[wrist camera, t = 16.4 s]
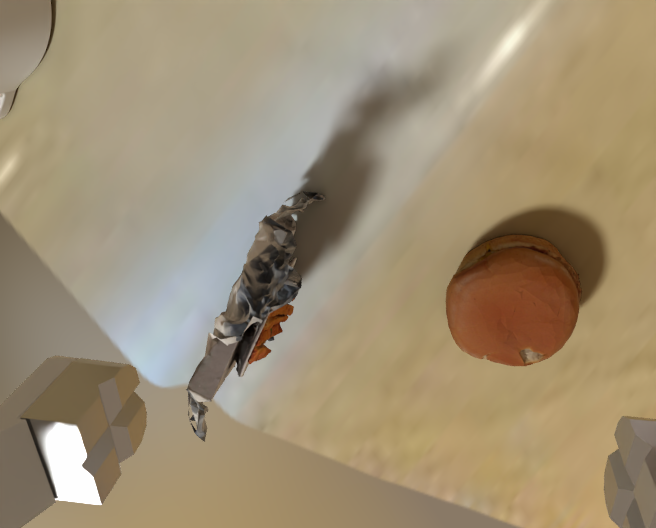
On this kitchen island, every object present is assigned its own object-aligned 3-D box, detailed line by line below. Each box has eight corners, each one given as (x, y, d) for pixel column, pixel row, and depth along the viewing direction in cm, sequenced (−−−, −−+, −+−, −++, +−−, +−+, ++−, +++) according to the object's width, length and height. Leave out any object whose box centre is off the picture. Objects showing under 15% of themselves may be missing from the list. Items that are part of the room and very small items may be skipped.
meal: (279, 343, 51) (227, 452, 40) (235, 323, 51) (171, 426, 40) (343, 201, 44) (302, 285, 32) (292, 177, 43) (232, 253, 32)
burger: (517, 207, 41) (523, 235, 37) (602, 291, 43) (617, 325, 39) (418, 288, 46) (414, 320, 42) (499, 360, 47) (502, 398, 43)
